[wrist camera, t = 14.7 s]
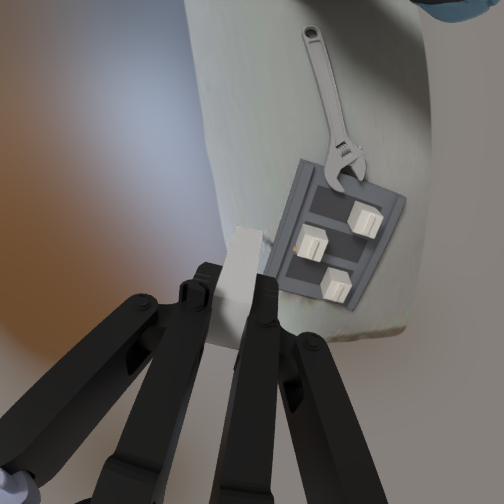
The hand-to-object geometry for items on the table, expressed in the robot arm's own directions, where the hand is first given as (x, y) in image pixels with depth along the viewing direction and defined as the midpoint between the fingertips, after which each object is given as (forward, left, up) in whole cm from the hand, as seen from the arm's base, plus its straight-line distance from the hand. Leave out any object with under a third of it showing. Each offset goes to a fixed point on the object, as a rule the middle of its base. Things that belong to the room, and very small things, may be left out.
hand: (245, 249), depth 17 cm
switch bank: (+9, +14, -29) cm, 33 cm away
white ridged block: (+15, +16, -27) cm, 35 cm away
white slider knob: (+9, +10, -27) cm, 30 cm away
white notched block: (+3, +16, -27) cm, 32 cm away
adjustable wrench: (-11, +7, -28) cm, 31 cm away
